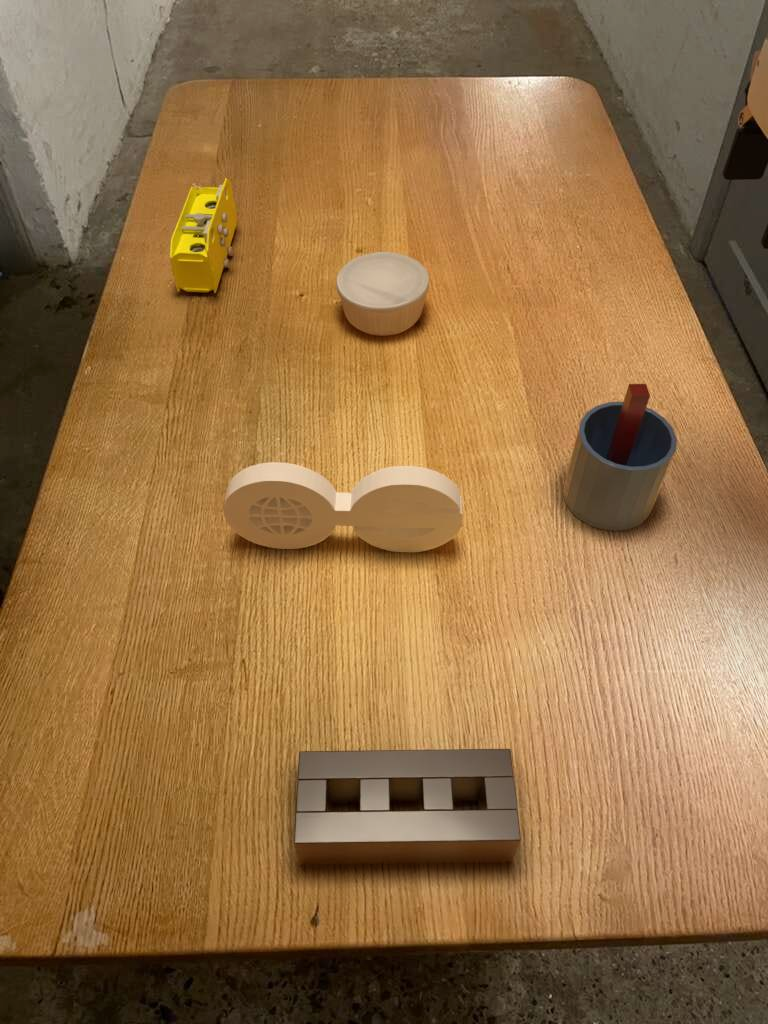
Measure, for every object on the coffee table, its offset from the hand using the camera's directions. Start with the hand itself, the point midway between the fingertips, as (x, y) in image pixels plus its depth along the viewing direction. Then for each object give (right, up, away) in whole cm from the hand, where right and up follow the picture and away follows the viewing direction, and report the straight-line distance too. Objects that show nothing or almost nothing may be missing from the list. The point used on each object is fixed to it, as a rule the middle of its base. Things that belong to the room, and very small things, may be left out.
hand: (760, 210), depth 65 cm
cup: (-6, -22, +20) cm, 31 cm away
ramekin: (-30, +1, +39) cm, 49 cm away
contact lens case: (-33, -27, +17) cm, 46 cm away
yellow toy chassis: (-53, +10, +46) cm, 71 cm away
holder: (-28, -47, 0) cm, 55 cm away
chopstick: (-7, -22, +20) cm, 30 cm away
